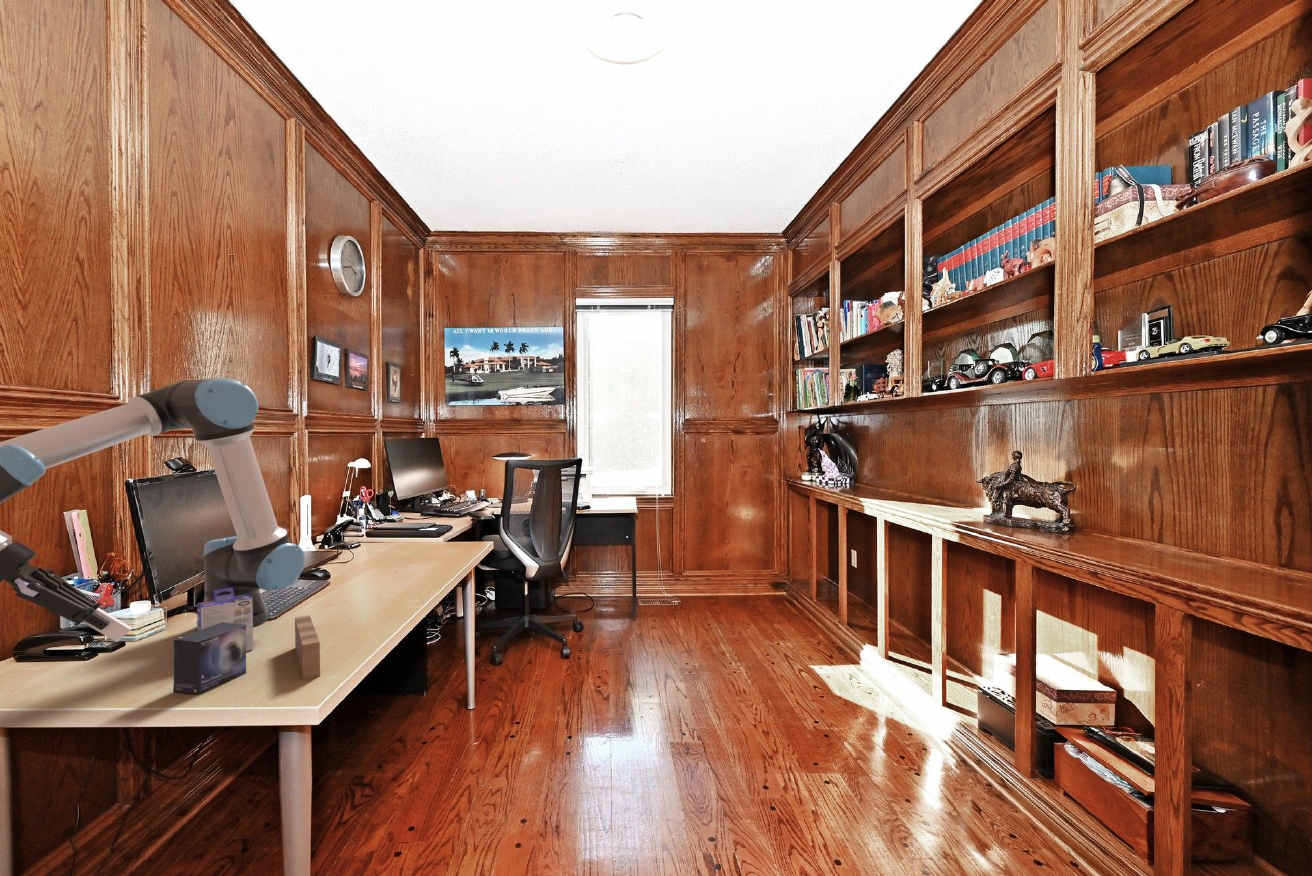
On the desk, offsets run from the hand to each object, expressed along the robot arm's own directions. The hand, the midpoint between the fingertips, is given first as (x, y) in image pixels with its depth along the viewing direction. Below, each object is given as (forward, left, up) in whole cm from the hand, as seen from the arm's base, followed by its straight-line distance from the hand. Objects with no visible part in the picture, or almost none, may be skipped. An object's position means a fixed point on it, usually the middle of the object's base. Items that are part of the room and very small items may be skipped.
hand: (124, 634), depth 108 cm
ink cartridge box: (-19, +15, -13) cm, 27 cm away
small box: (-1, +13, -13) cm, 18 cm away
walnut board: (-2, +29, -13) cm, 32 cm away
